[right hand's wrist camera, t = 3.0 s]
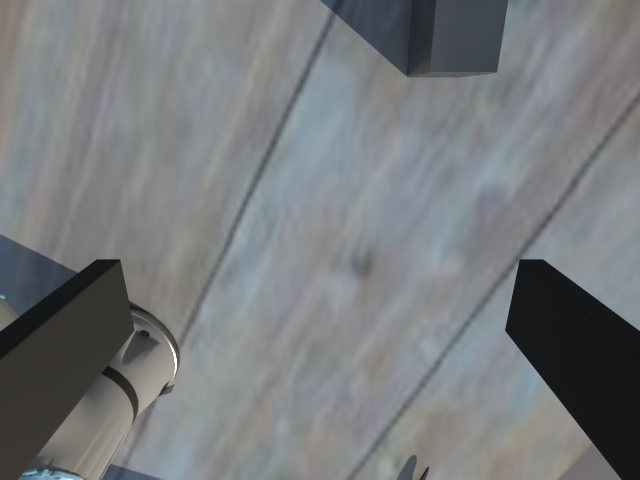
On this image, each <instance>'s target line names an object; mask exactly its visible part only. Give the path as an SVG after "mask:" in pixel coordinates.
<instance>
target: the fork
mask: <svg viewBox="0 0 640 480" xmlns="http://www.w3.org/2000/svg"><path fill="white" fill-rule="evenodd" d="M428 470H429V467H427V469H426V470H425V472H424V473H423V475H422V477H421V479H420V480H425V479H426V476H427V473H428Z"/></svg>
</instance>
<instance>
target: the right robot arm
mask: <svg viewBox="0 0 640 480" xmlns="http://www.w3.org/2000/svg"><path fill="white" fill-rule="evenodd" d="M5 298H6V296H5V295H4V294H2V293H0V480H101V479H102V477H103V475H104V474H105V472H106V470H107V468H108V467H109V465H110V463H111V461H112V459H113V458H114V456H115V454H116V452H117V450H118V449H119V447H120V445H121V443H122V442H123V440H124V438H125V436H126V434H127V433H128V431H129V429H130V427H131V425H132V424H133V422H134V420H135V418H136V417H137V415H139V414H140V413H141V412H142V411H143V410H144V409H145V408H146V407H147V406H148V405H149V404H150V403H151V402H152V401H154V400H156V399H157V398H158V397H159V396H161V395H164V394H168V393H171V391H172V389H173V387H174V385H172V386H170V384H171V382H172V381H173V379H174V377H175V375H176V373H177V370H178V367H179V350H178V347H177V344H176V341H175V339H174V338H173V336H172V334H171V333H170V331H169V330H168V329H167V328H166V327H165V326H164V325H163V324H162V323H161V322H160V321H159V320H157V319H156V318H155V317H153V316H152V315H150V314H148V313H147V312H144V311H142V310H140V309H137V308H134V307H131V306H130V305H129V300H128V295H127V290H126V285H125V280H124V276H123V271H122V266H121V261H120V259H97V260H95V261H94V262H93V263H91V264H90V265H89V266H87V267H86V268H85V269H83V270H82V271H81V272H79V273H78V274H77V275H75V276H74V277H73V278H71V279H70V280H68V281H67V282H66V283H64V284H63V285H62V286H60V287H59V288H58V289H56V290H55V291H54V292H52V293H51V294H50V295H48V296H47V297H46V298H44V299H43V300H42V301H40V302H39V303H38V304H36V305H35V306H33V307H32V308H31V309H29V310H28V311H27V312H25V313H24V314H23V315H21V316H19V315H18V314H17V313H16V312H15V310H14V309H13V308H12V307H11V306H10V304H9V303H8V302H7V301H6V300H5ZM505 331H506V332H507V334H508V335H509V336H510V337H511V339H512V340H513V341H514V343H515V344H516V345H517V346H518V348H519V349H520V350H521V352H522V353H523V354H524V355H525V357H526V358H527V359H528V361H529V362H530V363H531V364H532V366H533V367H534V368H535V369H536V371H537V372H538V373H539V375H540V376H541V377H542V378H543V380H544V381H545V382H546V384H547V385H548V386H549V387H550V389H551V390H552V391H553V392H554V394H555V395H556V396H557V398H558V399H559V400H560V401H561V403H562V404H563V405H564V407H565V408H566V409H567V410H568V412H569V413H570V414H571V416H572V417H573V418H574V419H575V421H576V422H577V423H578V424H579V426H580V427H581V428H582V430H583V431H584V432H585V433H586V435H587V436H588V437H589V439H590V440H591V441H592V442H593V444H594V445H595V446H596V447H597V449H598V450H599V451H600V453H601V454H602V455H603V456H604V458H605V459H606V460H607V462H608V463H609V464H610V465H611V467H612V468H613V469H614V471H615V472H616V473H617V474H618V476H619V477H620V478H621V479H622V480H640V331H639V330H638V329H636V328H635V327H633V326H632V325H631V324H629V323H628V322H627V321H625V320H624V319H623V318H621V317H620V316H619V315H617V314H616V313H615V312H613V311H612V310H611V309H609V308H608V307H607V306H605V305H604V304H602V303H601V302H600V301H598V300H597V299H596V298H594V297H593V296H592V295H590V294H589V293H588V292H586V291H585V290H584V289H582V288H581V287H580V286H578V285H577V284H576V283H574V282H573V281H572V280H570V279H569V278H567V277H566V276H565V275H563V274H562V273H561V272H559V271H558V270H557V269H555V268H554V267H553V266H551V265H550V264H549V263H547V262H546V261H545V260H543V259H520V261H519V266H518V271H517V276H516V280H515V285H514V290H513V295H512V300H511V305H510V309H509V314H508V319H507V324H506V329H505Z"/></svg>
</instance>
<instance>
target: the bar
mask: <svg viewBox="0 0 640 480" xmlns="http://www.w3.org/2000/svg"><path fill="white" fill-rule="evenodd" d="M507 4H508V0H413V5H412V18H411V31H410V44H409V58H408V71H407V77H466V76H475V75H483V74H492V73H497V69H498V62H499V56H500V49H501V43H502V36H503V30H504V23H505V17H506V10H507Z"/></svg>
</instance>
